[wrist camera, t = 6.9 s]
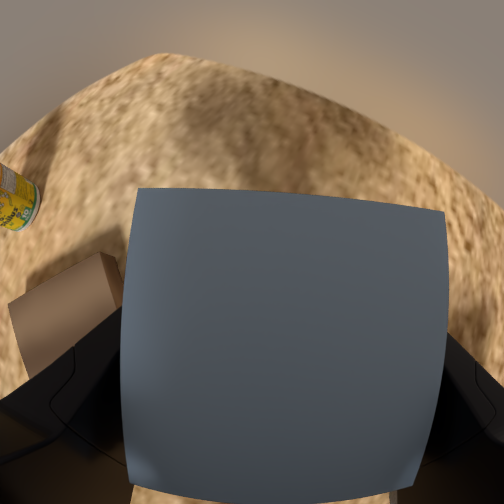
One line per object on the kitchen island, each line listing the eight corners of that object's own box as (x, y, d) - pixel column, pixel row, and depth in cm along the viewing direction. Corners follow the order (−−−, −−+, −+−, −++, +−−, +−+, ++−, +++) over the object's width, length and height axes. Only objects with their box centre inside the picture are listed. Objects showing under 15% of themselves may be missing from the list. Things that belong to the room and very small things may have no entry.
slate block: (321, 382, 13) (412, 485, 4) (207, 376, 14) (129, 482, 4) (329, 270, 15) (444, 211, 5) (214, 263, 15) (138, 188, 5)
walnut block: (172, 397, 19) (160, 410, 16) (70, 421, 19) (53, 431, 16) (117, 258, 21) (99, 251, 18) (27, 305, 21) (7, 304, 18)
